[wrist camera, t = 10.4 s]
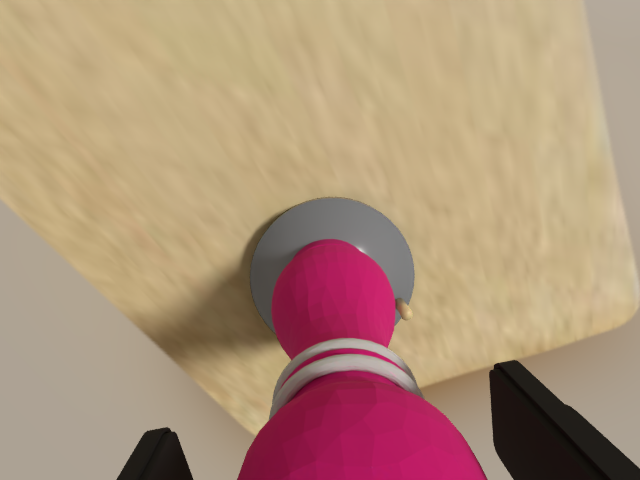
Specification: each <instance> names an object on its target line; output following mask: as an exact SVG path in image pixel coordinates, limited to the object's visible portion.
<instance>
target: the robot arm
mask: <svg viewBox="0 0 640 480" xmlns="http://www.w3.org/2000/svg"><path fill="white" fill-rule="evenodd" d="M489 378H490V393H491V410H492V426H493V442H494V446H495V450H496V452H497V454H498V456H499V458H500V459H501V461H502V463H503V464H504V466H505V467H506V469H507V470H508V472H509V473H510V475H511V476H512V478H513V479H514V480H640V469H639V468H638V467H637V466H636V465H635V464H634V463H633V462H632V461H631V460H630V459H629V458H627V457H626V456H625V455H624V454H623V453H622V452H621V451H620V450H619V449H618V448H616V447H615V446H614V445H613V444H612V443H611V442H610V441H609V440H608V439H607V438H606V437H604V436H603V435H602V434H601V433H600V432H599V431H598V430H596V428H595V427H593V426H592V425H591V424H590V423H589V422H588V421H587V420H586V419H585V418H583V416H581V415H580V414H579V413H578V412H577V411H576V410H574V409H573V408H572V407H570V406H568V405H565V404H564V403H563V402H562V401H560V400H559V399H558V398H557V397H556V396H555V395H554V394H553V393H552V392H551V391H550V390H548V388H546V387H545V386H544V385H543V384H542V383H541V382H540V381H539V380H538V379H537V378H536V377H534V376H533V375H532V374H531V373H530V372H529V371H528V370H527V369H526V368H525V367H524V366H523V365H522V364H521V363H519V362H518V361H516V360H512V361H507V362H502V363H497V364H495V365H494V370H491V371H490V372H489ZM117 480H193V478H192V475H191V472H190V469H189V466H188V464H187V461H186V458H185V455H184V453H183V450H182V448H181V445H180V442H179V439H178V436H177V434H176V433H175V432H171V430H170V429H169V428H167V427H166V428H160V429H155V430H150V431H147V432H145V433H144V435H143V436H142V438H141V440H140V441H139V443H138V444H137V446H136V448H135V449H134V451H133V453H132V455H131V456H130V458H129V459H128V461H127V463H126V465H125V466H124V468H123V470H122V471H121V473H120V475H119V476H118V478H117Z"/></svg>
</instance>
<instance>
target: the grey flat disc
mask: <svg viewBox="0 0 640 480" xmlns="http://www.w3.org/2000/svg"><path fill="white" fill-rule="evenodd" d="M323 239H337V240H342V241H345V242H348V243H350V244H352V245H353V246H355V247H356V248H358V249H359V250H360V251H361V252H363V253H365V254H366V255H368V256H369V257H370V258H372V259H373V260H374V261H375V262H376V263H377V264H378V265H379V266H380V267H381V268H382V270H383V271H384V273H385V274H386V276H387V278H388V280H389V283H390V285H391V288H392V290H393V293H394V298H395V324H394V326H395V325H396V324H397V323H398V322H399V320H400V319H401V317H402V319H404V320H410V319H411V318H412V317H413V313H412V311H411V310H410V308H409V307H408V304H409V302H410V299H411V296H412V291H413V287H414V264H413V259H412V255H411V252H410V249H409V246H408V244H407V242H406V240H405V238H404V237H403V235H402V234H401V232H400V231H399V229H398V228H397V227H396V226H395V225H394V224H393V223H392V222H391V221H390V220H389V219H388V218H387V217H386V216H384V215H383V214H382V213H380V212H379V211H377V210H375V209H374V208H372V207H370V206H369V205H366V204H364V203H362V202H359V201H356V200H352V199H348V198H341V197H324V198H317V199H313V200H309V201H306V202H303V203H301V204H298V205H296V206H294V207H293V208H291V209H289V210H287V211H286V212H285V213H283V214H282V215H281V216H279V217H278V218H277V219H276V220H275V221H274V222H273V223H272V224H271V226H270V227H269V228H268V229H267V231H266V232H265V233H264V235H263V236H262V238H261V240H260V241H259V243H258V245H257V247H256V250H255V252H254V255H253V259H252V263H251V270H250V286H251V292H252V297H253V300H254V303H255V306H256V308H257V310H258V312H259V314H260V316H261V317H262V319H263V320H264V322H265V323H266V324H267V325H268V327H269V328H270V329H271V330H272V331H273V332H274V333H275V334H276V332H275V329H274V326H273V322H272V314H271V306H272V296H273V291H274V287H275V284H276V281H277V279H278V277H279V276H280V274H281V272H282V271H283V269H284V268H285V267H286V266H287V265H288V264H289V263H290V262H291V261H292V259H293V257H294V256H295V255H296V254H297V253H298V251H300V250H301V249H302V248H303V247H305V246H306V245H308V244H310V243H312V242H314V241H318V240H323Z"/></svg>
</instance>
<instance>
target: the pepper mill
mask: <svg viewBox="0 0 640 480" xmlns="http://www.w3.org/2000/svg"><path fill="white" fill-rule="evenodd" d="M271 314H272V322H273V326H274V329H275V332H276V335H277V338H278V340H279V342H280V344H281V346H282V348H283V349H284V351H285V352H286V353H287V355H288V356H289V357H290V359H291V360H292V361H291V362H290V363H289V364H288V365H287V366H286V368H285V369H284V370H283V372H282V373H281V375H280V377H279V379H278V381H277V384H276V387H275V390H274V394H273V401H272V407H271V411H270V416H269V421H268V422H267V423H266V424H265V426H264V427H263V428H262V429H261V430H260V431H259V433H258V435H257V436H256V438H255V440H254V441H253V443H252V445H251V446H250V448H249V450H248V451H247V454H246V457H245V460H244V463H243V465H242V468H241V471H240V473H239V476H238V479H237V480H487V478H486V476H485V474H484V472H483V470H482V468H481V466H480V464H479V462H478V460H477V459H476V457H475V455H474V453H473V452H472V450H471V448H470V447H469V445H468V443H467V442H466V440H465V439H464V437H463V436H462V434H461V433H460V432H459V431H458V430H457V429H456V427H455V426H454V425H453V424H452V423H451V422H450V421H449V419H448V418H447V417H446V416H445V415H444V414H443V413H441V412H440V411H439V410H438V409H437V408H436V407H434V406H433V405H431V404H430V403H428V402H427V401H426V400H425V399H424V396H423V394H422V393H421V391H420V389H419V388H418V386H417V383H416V380H415V378H414V376H413V374H412V372H411V370H410V369H409V367H408V366H407V365H406V363H405V362H404V361H403V360H402V359H401V358H400V357H399V356H398V355H396V354H395V353H394V352H392V351H391V350H390V349H388V345H389V342H390V340H391V337H392V334H393V331H394V324H395V298H394V293H393V290H392V288H391V285H390V283H389V280H388V278H387V276H386V274H385V273H384V271H383V270H382V268H381V267H380V266H379V265H378V264H377V263H376V262H375V261H374V260H373V259H372V258H370V257H369V256H368V255H366V254H365V253H363V252H361V251H360V250H359V249H358V248H356V247H355V246H353V245H352V244H350V243H348V242H345V241H342V240H337V239H323V240H318V241H314V242H312V243H310V244H308V245H306V246H305V247H303V248H302V249H301V250H300V251H298V253H297V254H296V255H295V256H294V257H293V259H292V261H291V262H290V263H289V264H288V265H287V266H286V267H285V268H284V269H283V271H282V272H281V274H280V276H279V277H278V279H277V281H276V284H275V287H274V291H273V296H272V306H271Z"/></svg>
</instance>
